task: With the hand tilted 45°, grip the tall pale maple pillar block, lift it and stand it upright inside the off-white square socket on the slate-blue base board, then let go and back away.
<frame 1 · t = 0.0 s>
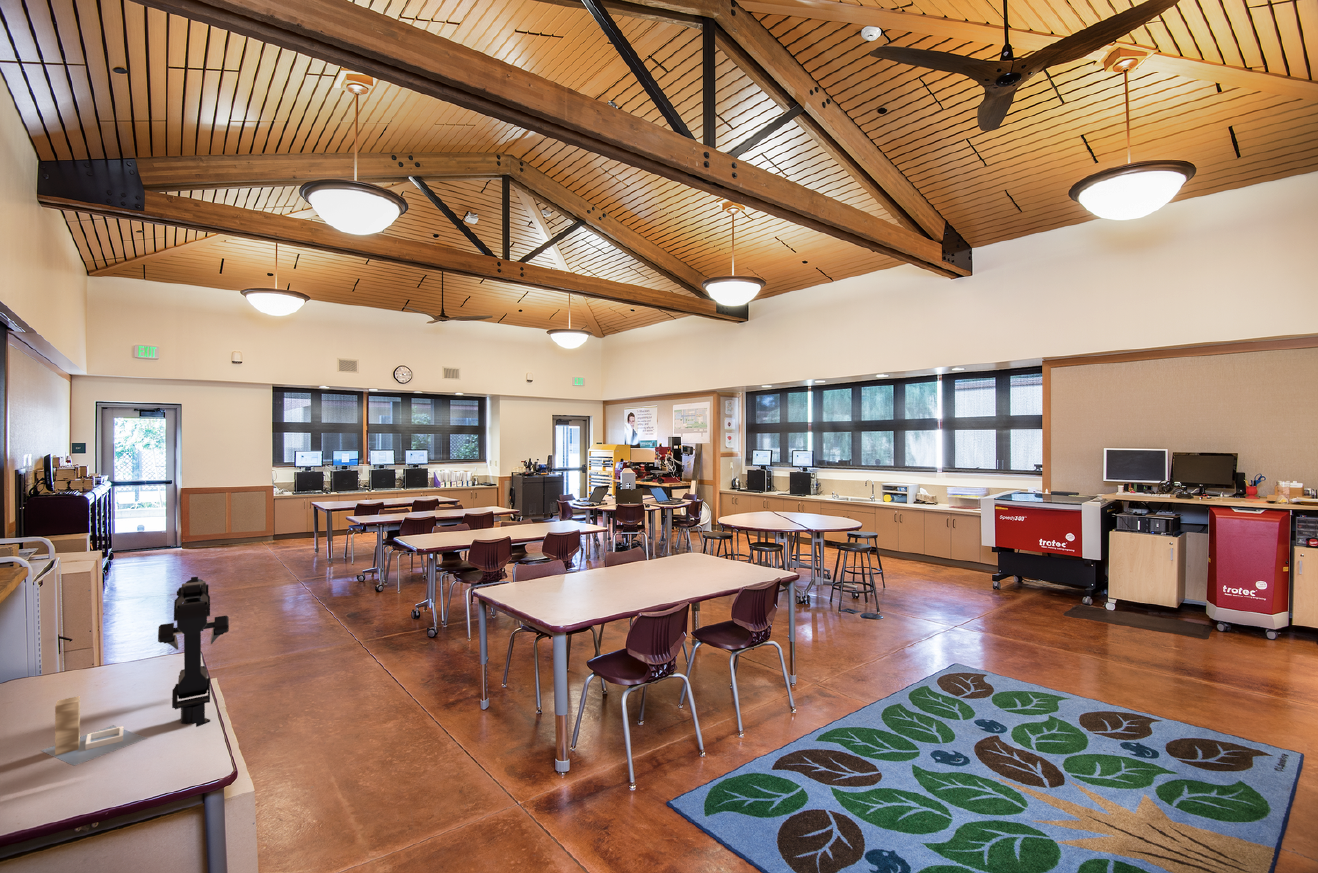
hand: (194, 645, 209), 15 cm above the table, tool tilted 35°, fingers open, 9 cm apart
maple pillar: (67, 749, 166), point 1 cm above the table, touching base board
socket frame: (105, 740, 171), resting on base board
base board: (95, 748, 169), on the table
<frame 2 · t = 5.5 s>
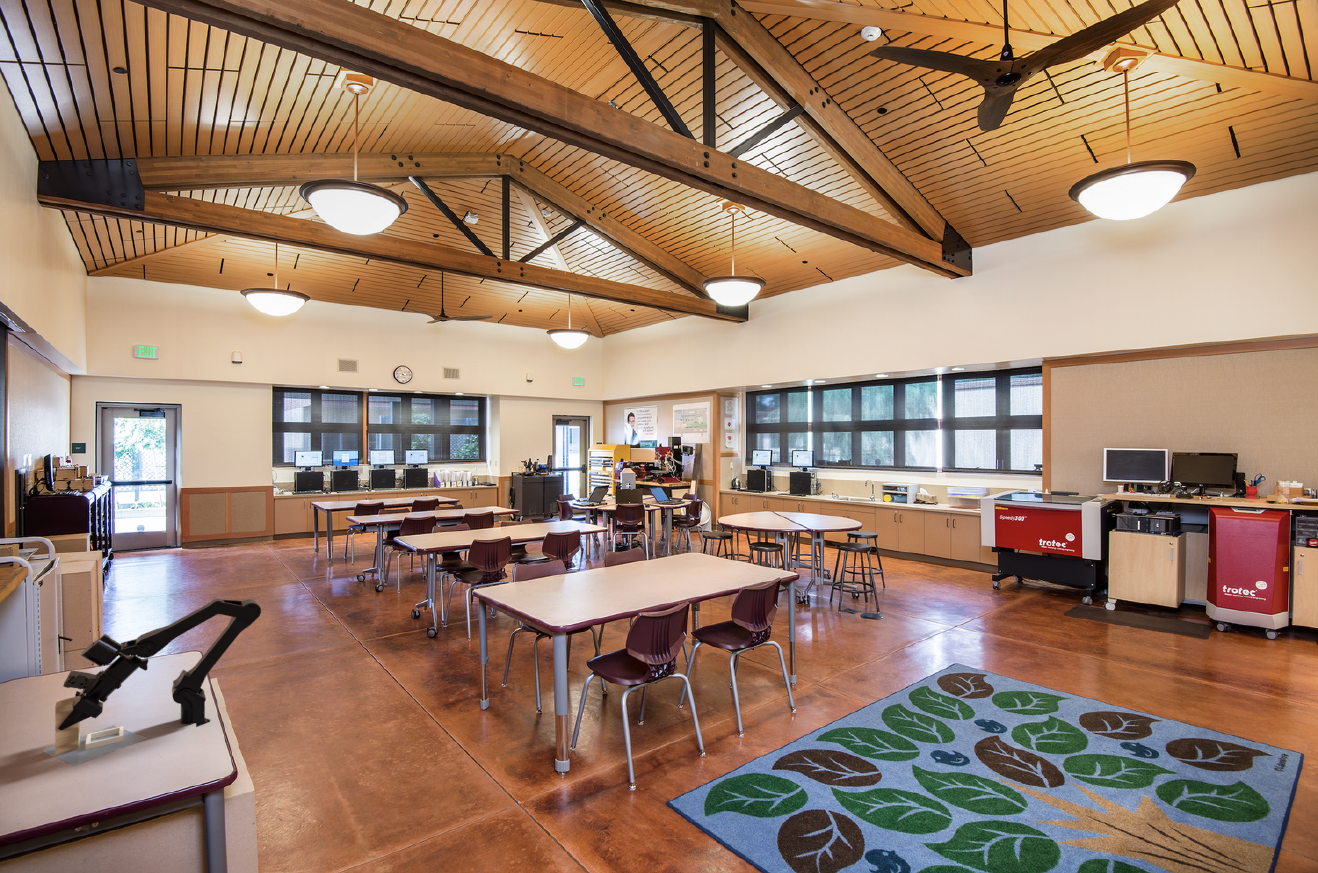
hand: (60, 726, 166), 8 cm above the table, tool tilted 45°, fingers closed on maple pillar, 4 cm apart
maple pillar: (67, 749, 166), point 1 cm above the table, touching base board, gripper
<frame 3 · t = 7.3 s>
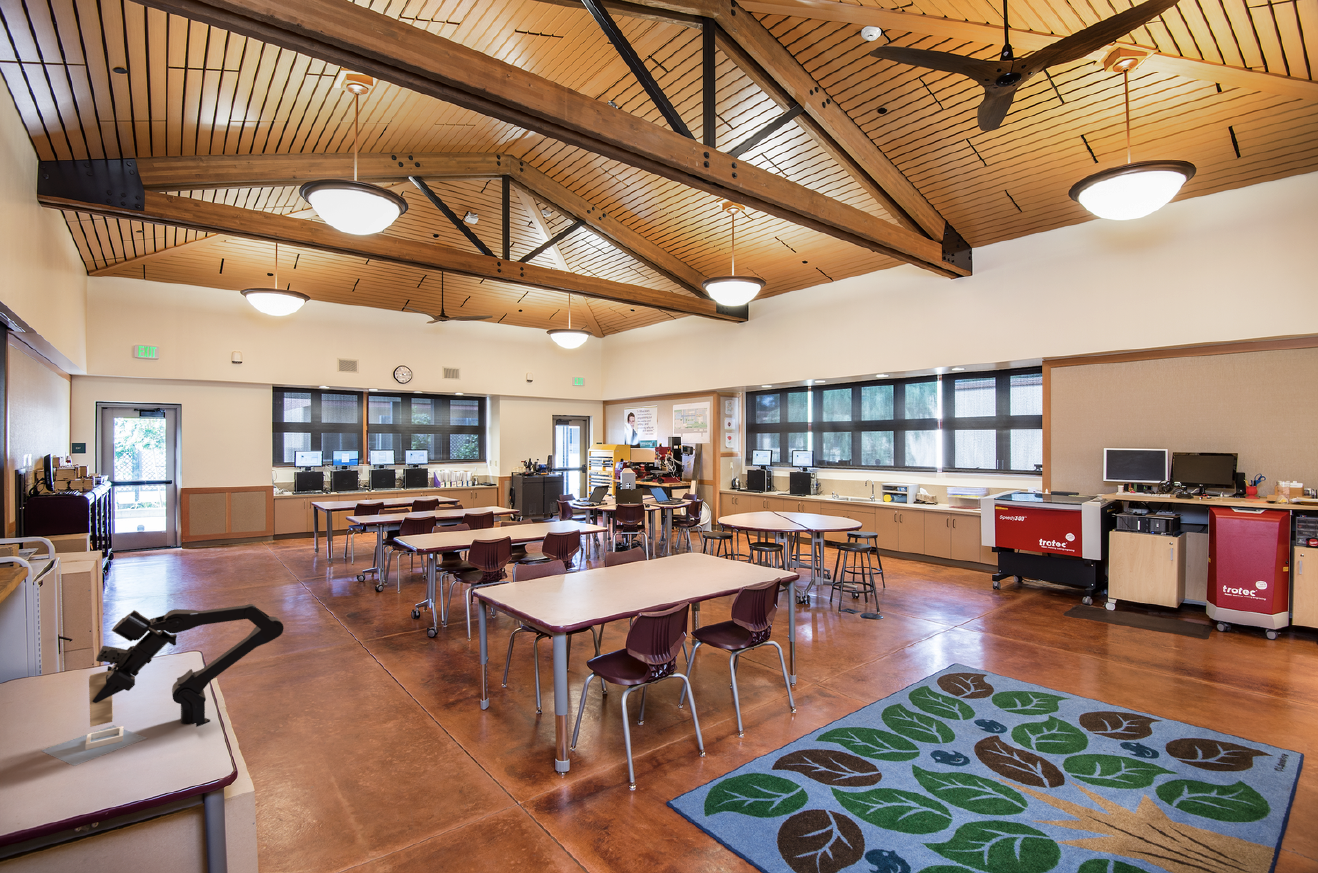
hand: (94, 699, 170), 13 cm above the table, tool tilted 45°, fingers closed on maple pillar, 4 cm apart
maple pillar: (101, 721, 171), point 7 cm above the table, touching gripper
when the fingers open (9 cm above the table, at t = 9.3 s): maple pillar stays where it is, resting on base board.
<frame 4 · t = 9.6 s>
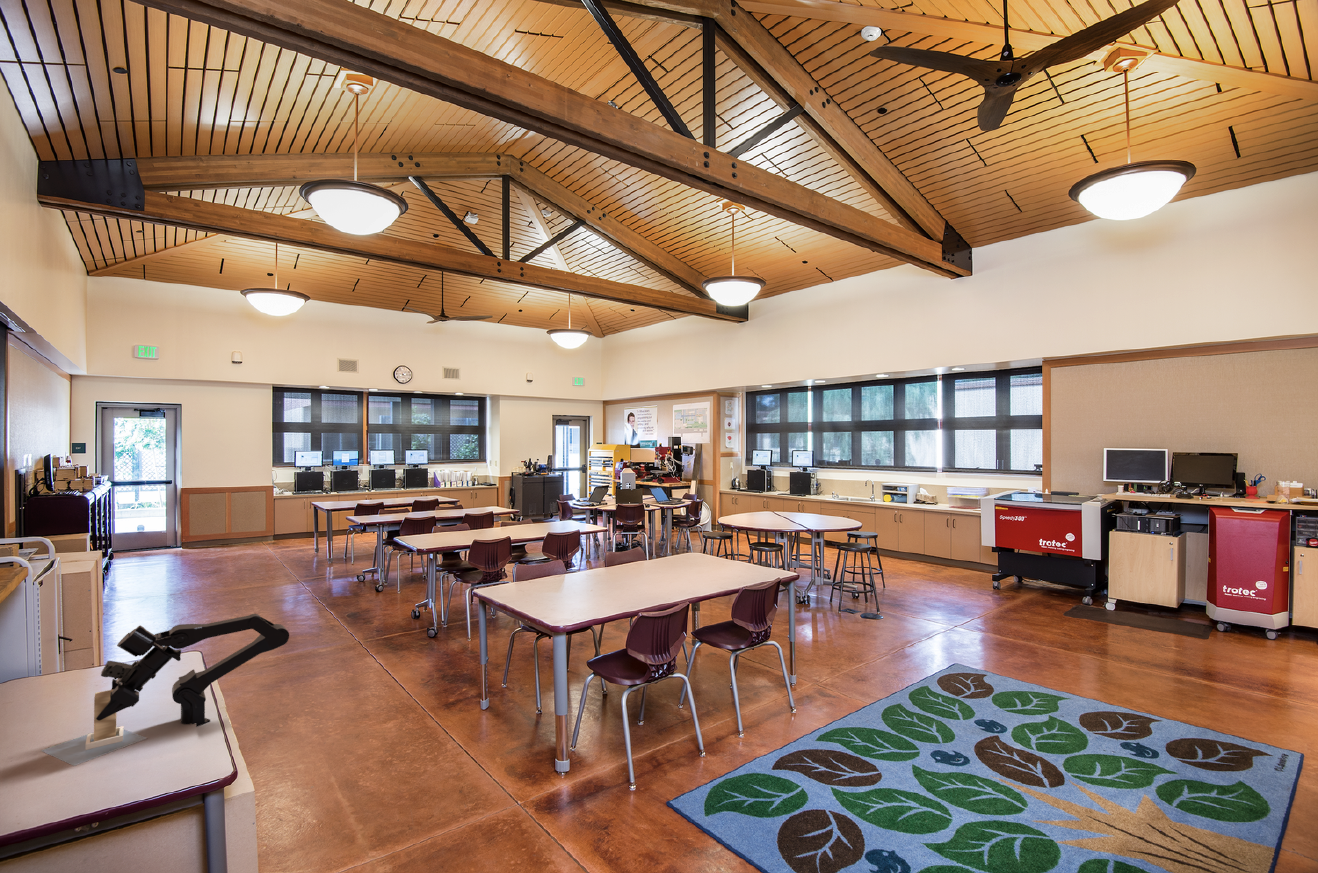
hand: (98, 714, 170), 9 cm above the table, tool tilted 45°, fingers open, 8 cm apart
maple pillar: (105, 740, 171), point 1 cm above the table, touching base board
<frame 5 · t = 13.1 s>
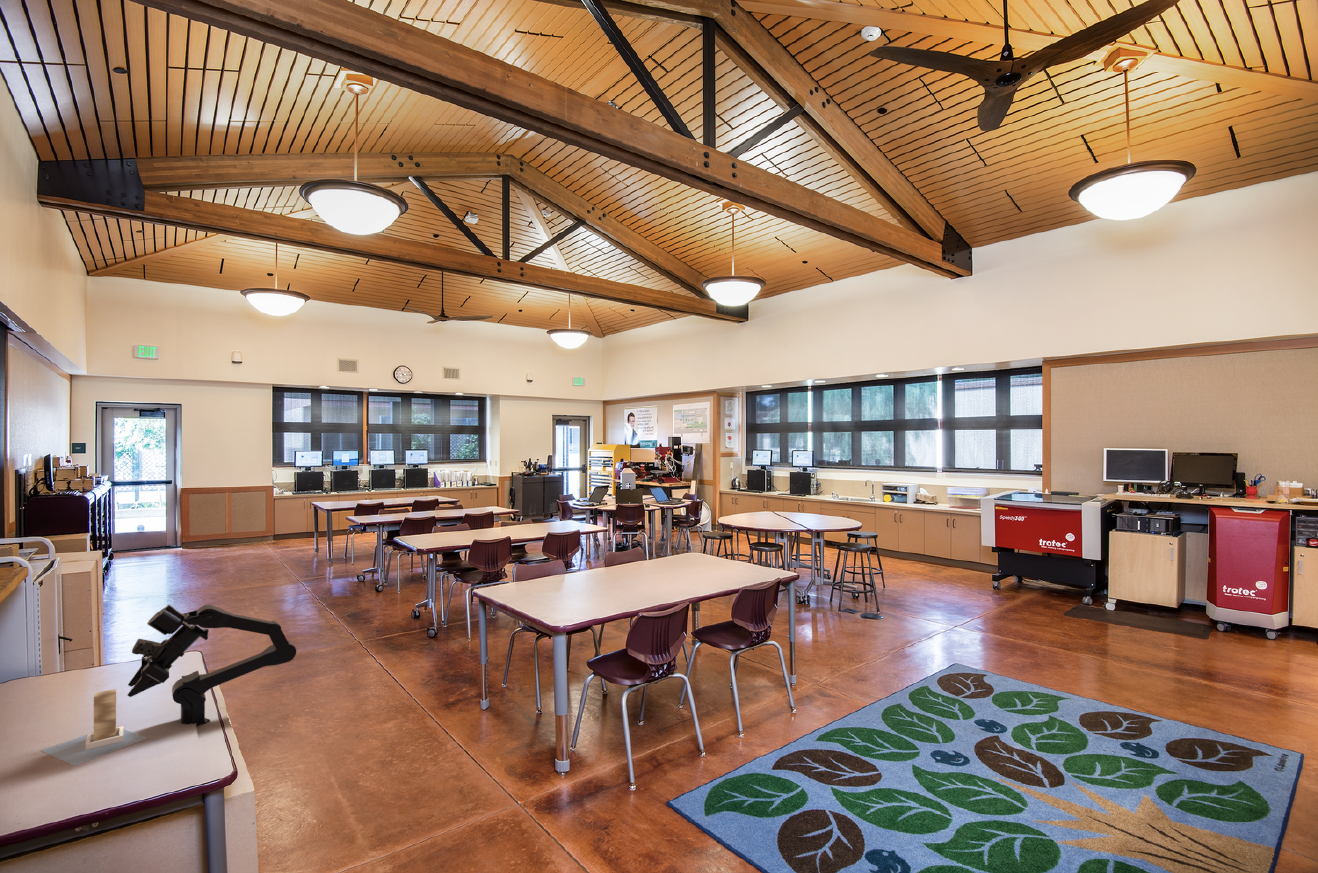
hand: (129, 691, 175), 14 cm above the table, tool tilted 45°, fingers open, 9 cm apart
nothing on the table moved.
at the end: maple pillar 0.0 cm off-centre on the socket frame, point 0.0 cm above the socket frame's base; maple pillar tilted 0°; the gripper is holding nothing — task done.
